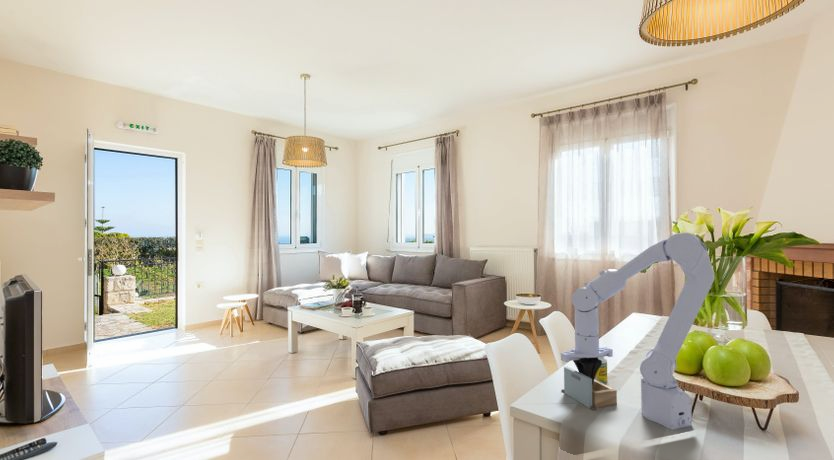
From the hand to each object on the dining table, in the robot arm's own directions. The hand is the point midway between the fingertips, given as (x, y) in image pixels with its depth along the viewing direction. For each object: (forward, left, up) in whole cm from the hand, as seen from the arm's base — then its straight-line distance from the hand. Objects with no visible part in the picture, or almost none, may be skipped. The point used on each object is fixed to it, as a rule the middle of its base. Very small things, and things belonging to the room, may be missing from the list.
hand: (587, 386), depth 99 cm
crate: (0, -1, -4) cm, 4 cm away
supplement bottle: (+10, -12, -4) cm, 16 cm away
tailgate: (0, +3, -3) cm, 4 cm away
